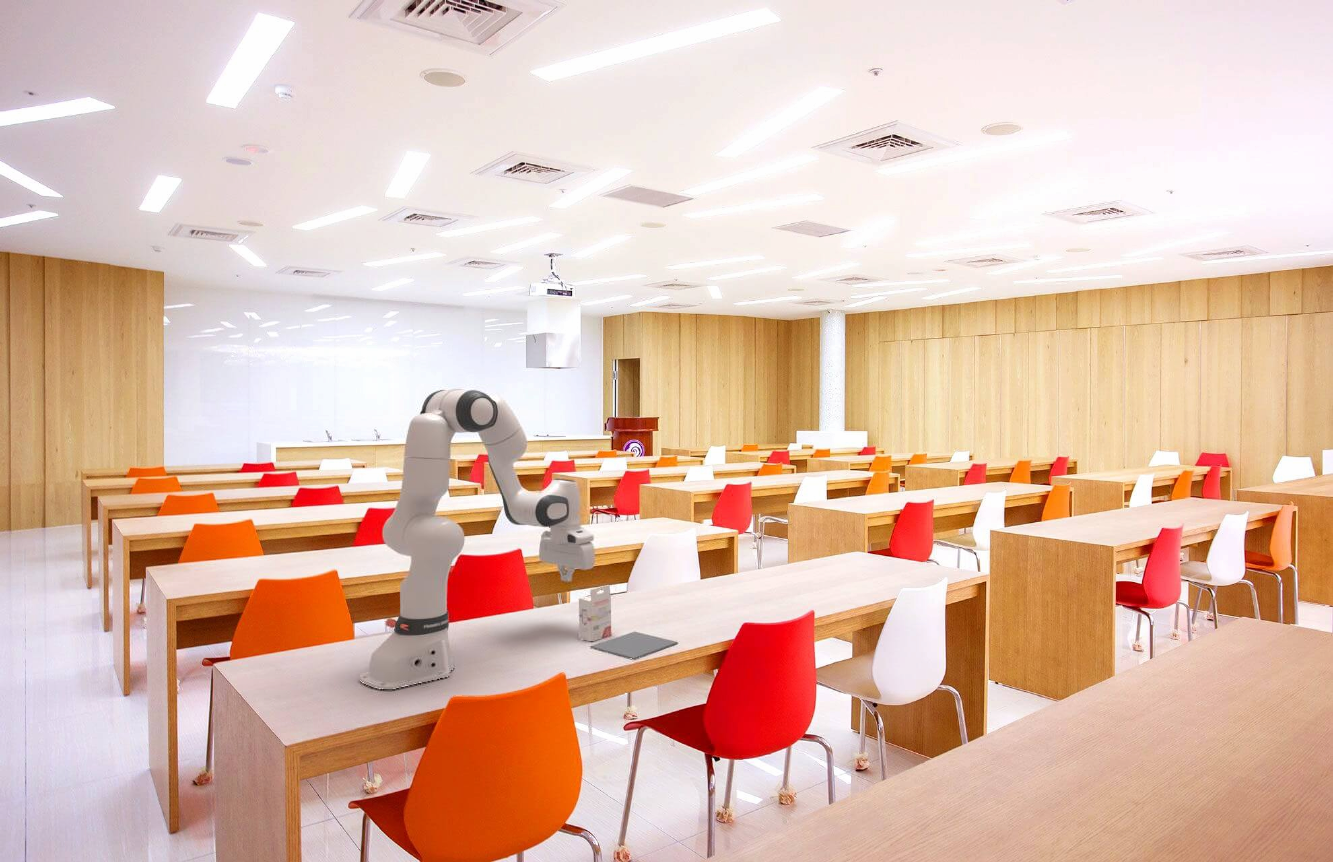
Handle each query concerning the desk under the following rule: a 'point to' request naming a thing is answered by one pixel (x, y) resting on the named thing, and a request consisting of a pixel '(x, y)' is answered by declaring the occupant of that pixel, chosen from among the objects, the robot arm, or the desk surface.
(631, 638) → the rubber mat
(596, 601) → the ink cartridge box
